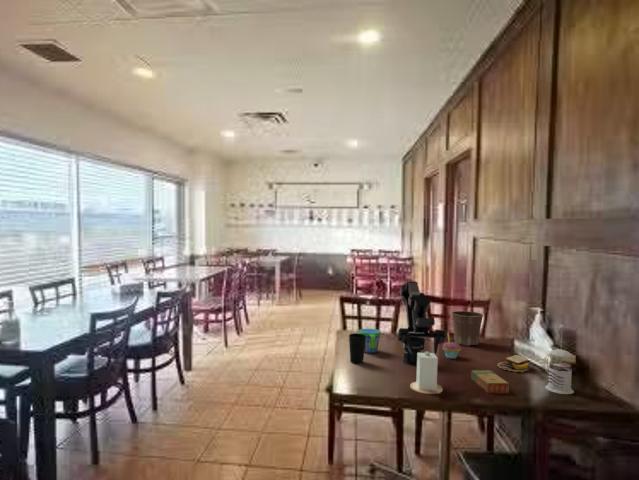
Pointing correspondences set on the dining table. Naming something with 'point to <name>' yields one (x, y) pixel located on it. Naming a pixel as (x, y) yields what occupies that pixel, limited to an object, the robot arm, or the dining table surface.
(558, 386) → the french press
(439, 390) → the cork mat
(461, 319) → the plant pot
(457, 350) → the cupcake
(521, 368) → the toy sandwich meal
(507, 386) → the carton
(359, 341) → the cup
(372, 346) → the snack cup
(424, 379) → the cover
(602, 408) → the dining table surface
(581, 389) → the dining table surface
